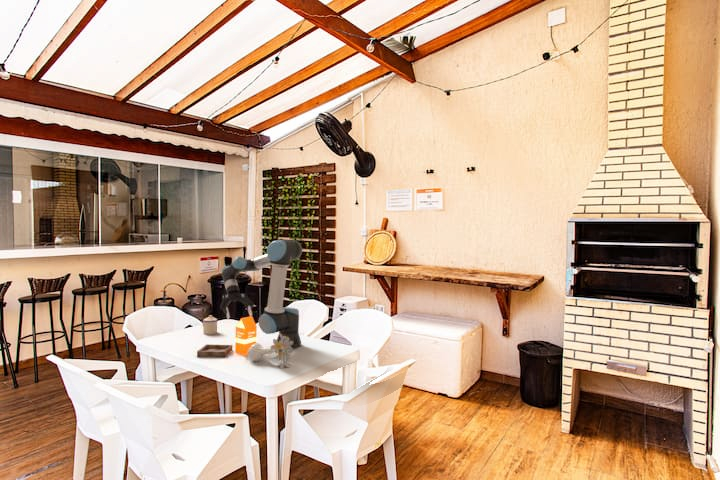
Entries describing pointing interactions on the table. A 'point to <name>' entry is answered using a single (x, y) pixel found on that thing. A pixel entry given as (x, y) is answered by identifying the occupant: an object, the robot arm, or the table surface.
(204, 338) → the table surface
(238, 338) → the orange juice
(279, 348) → the flower vase
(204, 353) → the walnut tray
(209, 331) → the teacup with lid
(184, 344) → the table surface
